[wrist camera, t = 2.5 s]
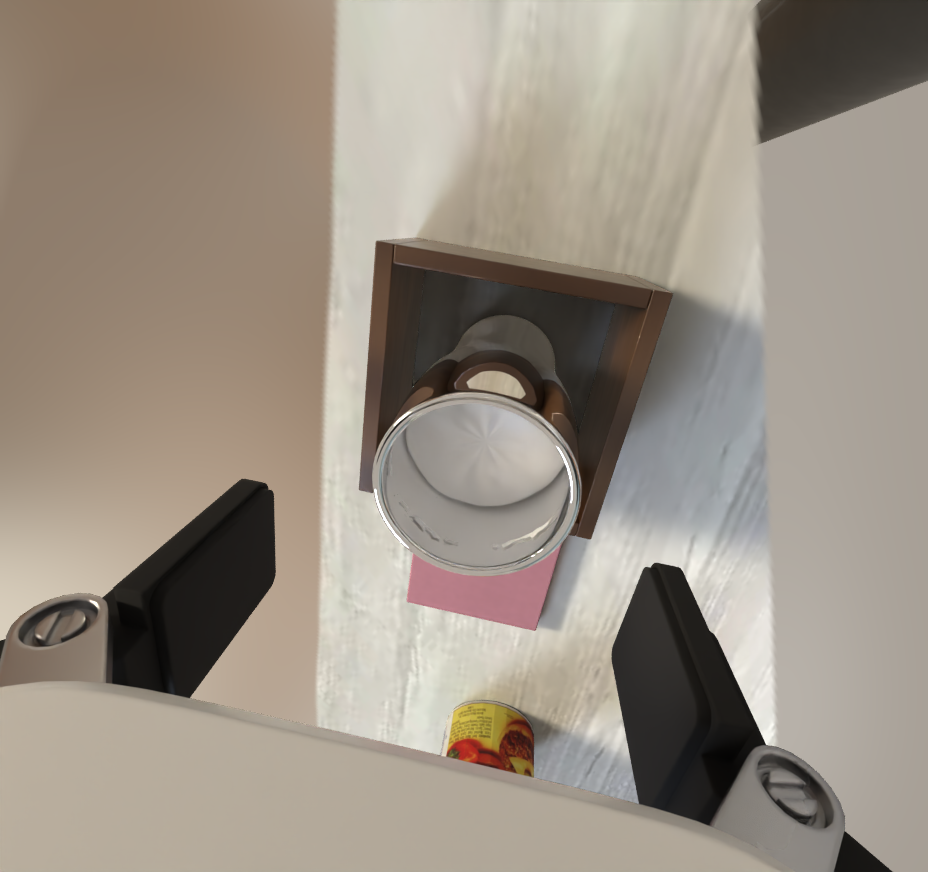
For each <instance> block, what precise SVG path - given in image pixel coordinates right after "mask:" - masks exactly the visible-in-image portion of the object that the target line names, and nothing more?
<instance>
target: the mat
mask: <svg viewBox="0 0 928 872" xmlns="http://www.w3.org/2000/svg"><path fill="white" fill-rule="evenodd" d="M561 546H562V543H561V545H560V546H559V547H558V548H557V549H556V550H555V551H554V552H552V553H551V554H550V555H549V556H547V557H546V558H545V559H543V560H541V561H540V562H538V563H536V564H534V565H532V566H530V567H528V568H526V569H523V570H520V571H517V572H514V573H510V574H505V575H499V576H469V575H463V574H458V573H454V572H450V571H447V570H444V569H441V568H439V567H436V566H434V565H432V564H430V563H428V562H426V561H424V560H423V559H421V558H419V557H418V556H416V555H415V554H414V553H413V558H412V565H411V573H410V580H409V587H408V595H407V602H410V603H414V604H419V605H423V606H428V607H432V608H437V609H441V610H445V611H450V612H454V613H459V614H463V615H468V616H472V617H476V618H481V619H485V620H490V621H494V622H498V623H503V624H507V625H512V626H516V627H521V628H525V629H529V630H534V631H535V630H536V628H537V624H538V621H539V618H540V615H541V611H542V608H543V605H544V601H545V598H546V595H547V592H548V588H549V585H550V582H551V578H552V575H553V572H554V569H555V565H556V562H557V559H558V555H559V552H560V549H561Z"/></svg>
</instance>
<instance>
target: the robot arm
mask: <svg viewBox="0 0 928 872" xmlns="http://www.w3.org/2000/svg"><path fill="white" fill-rule="evenodd" d="M274 528H275V526H274V494H273V491H272V490H268V486H267V484H265V483H262V482H258V481H253V480H248V479H241V480H239V481H238V482H237V483H236V484H235V485H233V486H232V487H231V488H230V489H229V490H228V491H226V492H225V493H224V494H223V495H222V496H220V497H219V498H218V499H217V500H216V501H215V502H213V503H212V504H211V505H210V506H209V507H208V508H206V509H205V510H204V511H203V512H202V513H201V514H199V515H198V516H197V517H196V518H195V519H193V520H192V521H191V522H190V523H189V524H188V525H186V526H185V527H184V528H183V529H182V530H181V531H179V532H178V533H177V534H176V535H175V536H173V537H172V538H171V539H170V540H169V541H168V542H166V543H165V544H164V545H163V546H162V547H160V548H159V549H158V550H157V551H156V552H155V553H154V554H152V555H151V556H150V557H149V558H148V559H146V560H145V561H144V562H143V563H142V564H140V565H139V566H138V567H137V568H136V569H135V570H133V571H132V572H131V573H130V574H129V575H128V576H126V577H125V578H124V579H123V580H122V581H120V582H119V583H118V584H117V585H116V586H115V587H114V588H113V589H112V590H111V591H110V592H109V593H108V594H106V595H105V596H104V597H103V598H101V597H100V596H96V595H93V594H86V593H76V594H69V595H63V596H60V597H57V598H54V599H50V600H47V601H45V602H43V603H41V604H39V605H37V606H35V607H33V608H31V609H30V610H29V611H27V612H26V613H24V614H23V615H21V616H20V617H19V618H18V619H17V620H16V621H15V622H14V623H13V624H12V626H11V627H10V629H9V631H8V633H7V636H6V639H5V640H1V641H0V872H892V871H891V870H890V869H889V868H887V867H886V866H885V865H884V864H883V863H882V862H880V861H879V860H878V859H877V858H876V857H875V856H873V855H872V854H871V853H870V852H869V851H867V850H866V849H865V848H864V847H863V846H862V845H861V844H859V843H858V842H857V841H856V840H855V839H854V838H852V837H851V836H850V835H849V834H848V833H846V832H845V831H844V830H845V815H844V812H843V810H842V807H841V804H840V802H839V800H838V799H837V797H836V795H835V793H834V792H833V790H832V788H831V787H830V786H829V785H828V783H827V782H826V781H825V780H824V779H823V778H822V777H821V775H820V774H819V773H818V772H817V771H815V770H814V769H813V768H812V767H811V766H810V765H809V764H807V763H806V762H805V761H804V760H802V759H800V758H799V757H797V756H795V755H794V754H792V753H791V752H788V751H786V750H784V749H781V748H779V747H775V746H768V745H766V744H765V742H764V739H763V737H762V735H761V733H760V731H759V729H758V726H757V724H756V722H755V720H754V718H753V716H752V713H751V711H750V709H749V707H748V705H747V703H746V700H745V698H744V696H743V694H742V692H741V690H740V687H739V685H738V683H737V681H736V679H735V676H734V674H733V672H732V670H731V668H730V666H729V663H728V661H727V659H726V657H725V655H724V653H723V650H722V648H721V646H720V644H719V642H718V640H717V638H716V637H715V635H714V634H713V633H712V632H710V631H709V629H708V626H707V624H706V622H705V620H704V618H703V615H702V613H701V611H700V609H699V607H698V604H697V602H696V600H695V598H694V595H693V593H692V591H691V589H690V587H689V584H688V582H687V580H686V578H685V575H684V573H683V571H682V570H681V568H679V567H675V566H670V565H665V564H660V563H654V564H653V565H652V566H651V568H649V567H645V568H644V569H643V571H642V574H641V576H640V579H639V581H638V584H637V586H636V589H635V591H634V594H633V597H632V599H631V602H630V604H629V607H628V609H627V612H626V614H625V617H624V619H623V622H622V624H621V627H620V629H619V632H618V634H617V637H616V640H615V642H614V645H613V648H612V664H613V670H614V675H615V680H616V685H617V691H618V696H619V701H620V706H621V711H622V717H623V722H624V727H625V732H626V738H627V743H628V748H629V753H630V759H631V764H632V769H633V774H634V780H635V785H636V790H637V795H638V801H639V804H637V803H633V802H629V801H625V800H621V799H617V798H613V797H610V796H606V795H602V794H598V793H594V792H590V791H586V790H583V789H579V788H574V787H570V786H566V785H562V784H558V783H554V782H549V781H545V780H541V779H537V778H533V777H529V776H524V775H520V774H516V773H512V772H508V771H504V770H499V769H495V768H491V767H487V766H483V765H479V764H474V763H470V762H466V761H462V760H458V759H453V758H449V757H445V756H441V755H436V754H432V753H428V752H423V751H419V750H415V749H411V748H406V747H402V746H398V745H394V744H389V743H385V742H381V741H376V740H372V739H368V738H364V737H359V736H355V735H351V734H346V733H342V732H338V731H333V730H329V729H325V728H320V727H316V726H312V725H307V724H303V723H298V722H294V721H290V720H285V719H281V718H276V717H272V716H268V715H263V714H259V713H254V712H250V711H245V710H241V709H237V708H232V707H228V706H224V705H219V704H215V703H210V702H205V701H200V700H196V699H191V698H190V697H191V695H192V694H193V693H194V691H195V690H196V689H197V687H198V686H199V685H200V683H201V682H202V680H203V679H204V678H205V676H206V675H207V674H208V672H209V671H210V670H211V668H212V667H213V665H214V664H215V663H216V661H217V660H218V659H219V657H220V656H221V655H222V653H223V652H224V650H225V649H226V648H227V646H228V645H229V644H230V642H231V641H232V640H233V638H234V637H235V635H236V634H237V633H238V631H239V630H240V629H241V627H242V626H243V625H244V623H245V622H246V620H247V619H248V617H249V616H250V615H251V614H252V612H253V611H254V610H255V608H256V607H257V605H258V604H259V602H260V601H261V600H262V599H263V597H264V596H265V594H266V593H267V592H268V590H269V589H270V588H271V586H272V584H273V582H274V578H275V573H276V570H275V569H276V568H275V529H274Z"/></svg>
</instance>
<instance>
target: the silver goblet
mask: <svg viewBox="0 0 928 872" xmlns="http://www.w3.org/2000/svg"><path fill="white" fill-rule="evenodd" d="M372 482H373V492H374V497H375V501H376V504H377V507H378V509H379V512H380V514H381V516H382V518H383V520H384V522H385V523H386V525H387V526H388V528H389V529H390V531H391V532H392V533H393V535H394V536H395V537H396V538H397V539H398V540H399V541H400V542H401V543H402V544H403V545H404V546H405V547H406V548H407V549H408V550H410V551H411V552H412V553H414V554H415V555H416V556H418V557H419V558H421V559H423V560H424V561H426V562H428V563H430V564H432V565H434V566H436V567H439V568H441V569H444V570H447V571H450V572H454V573H458V574H463V575H469V576H499V575H505V574H510V573H514V572H517V571H520V570H523V569H526V568H528V567H530V566H532V565H534V564H536V563H538V562H540V561H541V560H543V559H545V558H546V557H547V556H549V555H550V554H551V553H552V552H554V551H555V550H556V549H557V548H558V547H559V546H560V545H561V543H562V542H563V541H564V540H565V539H566V537H567V536H568V534H569V533H570V531H571V529H572V527H573V525H574V523H575V521H576V518H577V515H578V512H579V508H580V503H581V479H580V450H579V438H578V430H577V423H576V418H575V415H574V411H573V408H572V405H571V402H570V399H569V396H568V394H567V392H566V390H565V388H564V386H563V384H562V383H561V381H560V380H559V378H558V377H557V375H556V374H555V357H554V352H553V349H552V346H551V344H550V342H549V340H548V338H547V337H546V335H545V334H544V333H543V332H542V331H541V330H540V329H539V328H538V327H537V326H536V325H534V324H533V323H531V322H530V321H528V320H526V319H523V318H520V317H517V316H512V315H496V316H491V317H487V318H485V319H482V320H480V321H478V322H477V323H475V324H474V325H472V326H471V327H470V328H469V329H468V330H467V331H466V332H465V333H464V334H463V336H462V337H461V339H460V340H459V342H458V344H457V347H456V349H455V350H454V351H452V352H451V353H449V354H448V355H446V356H444V357H443V358H441V359H440V360H438V361H437V362H436V363H435V364H433V365H432V366H431V367H430V368H429V369H428V370H427V371H426V372H425V374H424V375H423V376H422V377H421V378H420V379H419V380H418V381H417V382H416V384H415V385H414V386H413V388H412V389H411V391H410V392H409V394H408V395H407V397H406V398H405V400H404V401H403V403H402V405H401V407H400V409H399V410H398V412H397V414H396V416H395V418H394V420H393V422H392V424H391V426H390V429H389V430H388V431H387V433H386V434H385V436H384V437H383V439H382V441H381V443H380V445H379V447H378V450H377V453H376V456H375V460H374V465H373V474H372Z"/></svg>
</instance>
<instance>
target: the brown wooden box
mask: <svg viewBox="0 0 928 872" xmlns="http://www.w3.org/2000/svg"><path fill="white" fill-rule="evenodd" d="M425 270H431V271H436V272H442V273H448V274H453V275H459V276H464V277H470V278H475V279H481V280H487V281H492V282H498V283H503V284H509V285H514V286H520V287H526V288H531V289H537V290H542V291H548V292H553V293H559V294H565V295H570V296H576V297H581V298H587V299H592V300H598V301H603V302H609V303H615V308H614V311H613V315H612V318H611V322H610V325H609V329H608V332H607V336H606V339H605V343H604V346H603V350H602V353H601V357H600V360H599V364H598V367H597V371H596V374H595V378H594V381H593V385H592V388H591V392H590V395H589V399H588V402H587V406H586V409H585V413H584V416H583V419H582V423H581V426H580V430H579V433H578V438H579V450H580V479H581V503H580V508H579V512H578V515H577V518H576V521H575V523H574V525H573V527H572V529H571V531H570V533H569V534H568V535H572V536H575V535H576V536H577V537H582V538H586V539H591V537H592V534H593V531H594V528H595V525H596V522H597V520H598V517H599V514H600V511H601V508H602V505H603V502H604V499H605V496H606V493H607V490H608V487H609V484H610V481H611V478H612V475H613V472H614V469H615V466H616V463H617V460H618V457H619V454H620V451H621V448H622V445H623V442H624V439H625V436H626V433H627V430H628V427H629V424H630V421H631V418H632V415H633V412H634V409H635V406H636V403H637V400H638V397H639V394H640V391H641V388H642V385H643V382H644V379H645V376H646V373H647V370H648V367H649V364H650V361H651V359H652V356H653V353H654V350H655V347H656V344H657V341H658V338H659V335H660V332H661V329H662V326H663V323H664V320H665V317H666V314H667V311H668V308H669V305H670V302H671V299H672V296H673V293H672V292H669V291H667V290H665V289H663V288H661V287H659V286H657V285H655V284H652V283H650V282H648V281H646V280H644V279H642V278H640V277H637V276H631V275H623V274H619V273H614V272H608V271H602V270H596V269H591V268H585V267H579V266H574V265H568V264H562V263H557V262H551V261H545V260H539V259H534V258H528V257H522V256H517V255H511V254H505V253H500V252H494V251H488V250H482V249H477V248H471V247H465V246H460V245H454V244H448V243H442V242H437V241H431V240H429V241H428V240H426V239H420V238H406V239H393V240H380V241H376V247H375V262H374V276H373V291H372V306H371V320H370V335H369V350H368V364H367V379H366V394H365V408H364V423H363V437H362V452H361V467H360V481H359V490H361V491H365V492H370V493H373V482H372V474H373V465H374V460H375V456H376V453H377V450H378V447H379V445H380V443H381V441H382V439H383V437H384V436H385V434H386V433H387V431H388V430H389V429H390V426H391V424H392V422H393V420H394V418H395V416H396V414H397V412H398V410H399V409H400V407H401V405H402V403H403V401H404V400H405V398H406V397H407V395H408V394H409V392H410V391H411V389H412V383H413V374H414V365H415V356H416V347H417V338H418V329H419V321H420V312H421V303H422V294H423V285H424V276H425Z"/></svg>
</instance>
